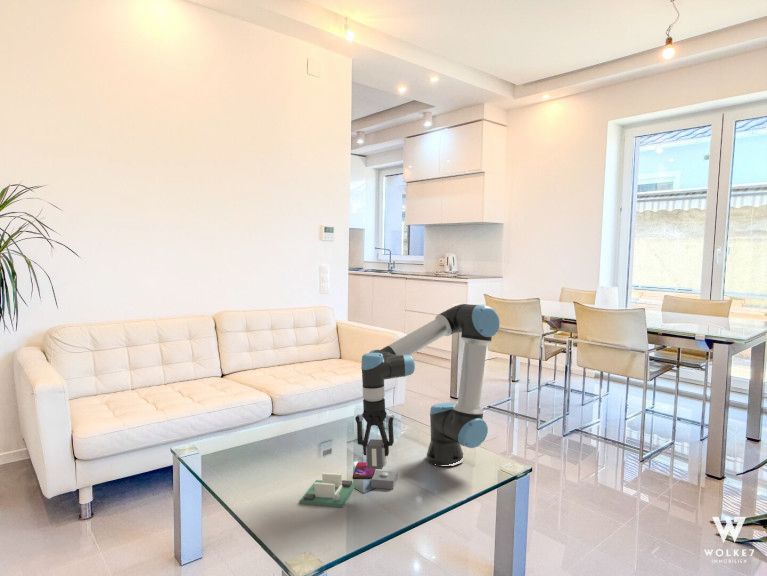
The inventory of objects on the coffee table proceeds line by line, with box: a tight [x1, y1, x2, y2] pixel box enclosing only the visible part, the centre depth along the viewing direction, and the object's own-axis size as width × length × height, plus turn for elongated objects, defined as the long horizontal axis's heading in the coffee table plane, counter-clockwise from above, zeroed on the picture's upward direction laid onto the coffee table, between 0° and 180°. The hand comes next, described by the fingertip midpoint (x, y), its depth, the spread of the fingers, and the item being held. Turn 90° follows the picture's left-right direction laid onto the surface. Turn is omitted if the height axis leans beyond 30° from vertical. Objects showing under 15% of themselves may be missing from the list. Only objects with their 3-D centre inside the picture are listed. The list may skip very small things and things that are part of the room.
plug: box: [367, 439, 384, 470], centre depth 167 cm, size 5×6×8 cm
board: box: [299, 472, 356, 508], centre depth 169 cm, size 15×16×6 cm
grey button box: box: [370, 469, 398, 490], centre depth 177 cm, size 8×8×4 cm
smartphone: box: [352, 461, 376, 480], centre depth 189 cm, size 8×1×15 cm
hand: (376, 464), depth 167 cm, fingers closed on plug, 5 cm apart
